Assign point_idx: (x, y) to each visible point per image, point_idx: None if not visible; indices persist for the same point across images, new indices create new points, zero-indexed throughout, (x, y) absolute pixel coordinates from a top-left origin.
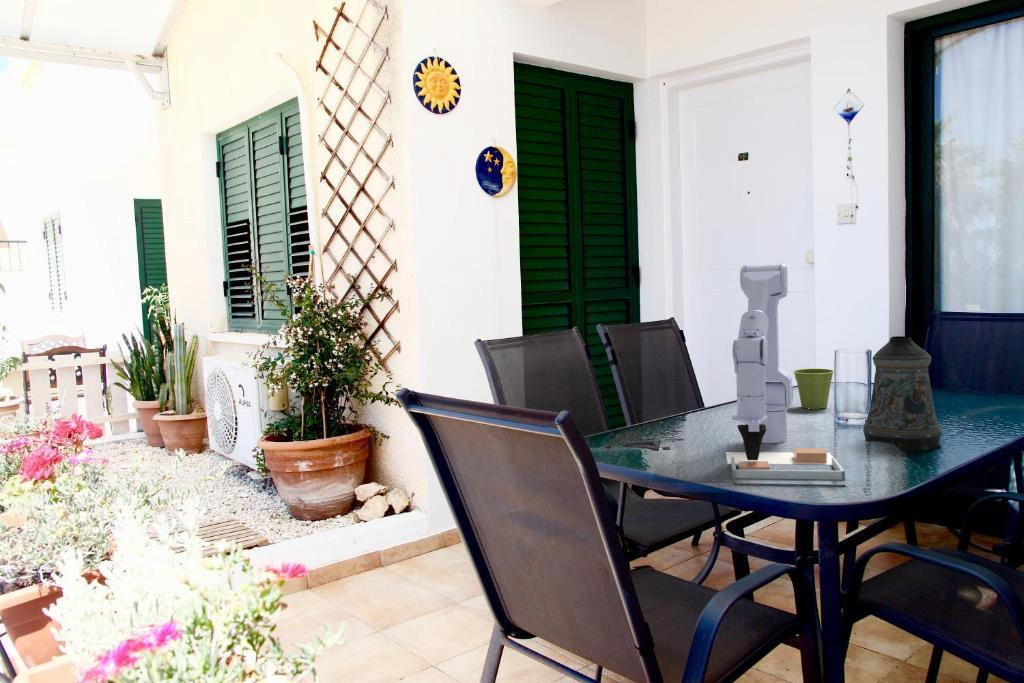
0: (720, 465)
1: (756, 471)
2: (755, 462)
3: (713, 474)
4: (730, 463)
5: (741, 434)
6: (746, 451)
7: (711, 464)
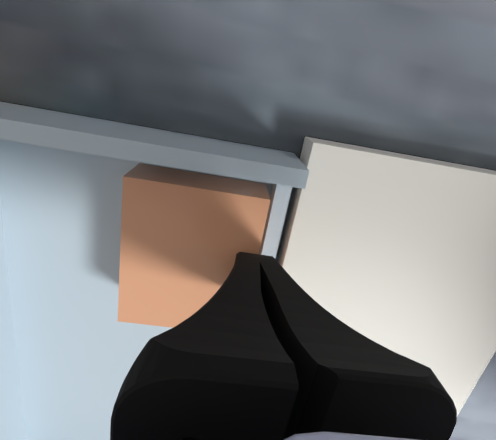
0: (427, 121)
1: None
2: (224, 280)
3: (230, 32)
4: (309, 159)
5: (164, 333)
6: (230, 273)
7: (468, 74)
